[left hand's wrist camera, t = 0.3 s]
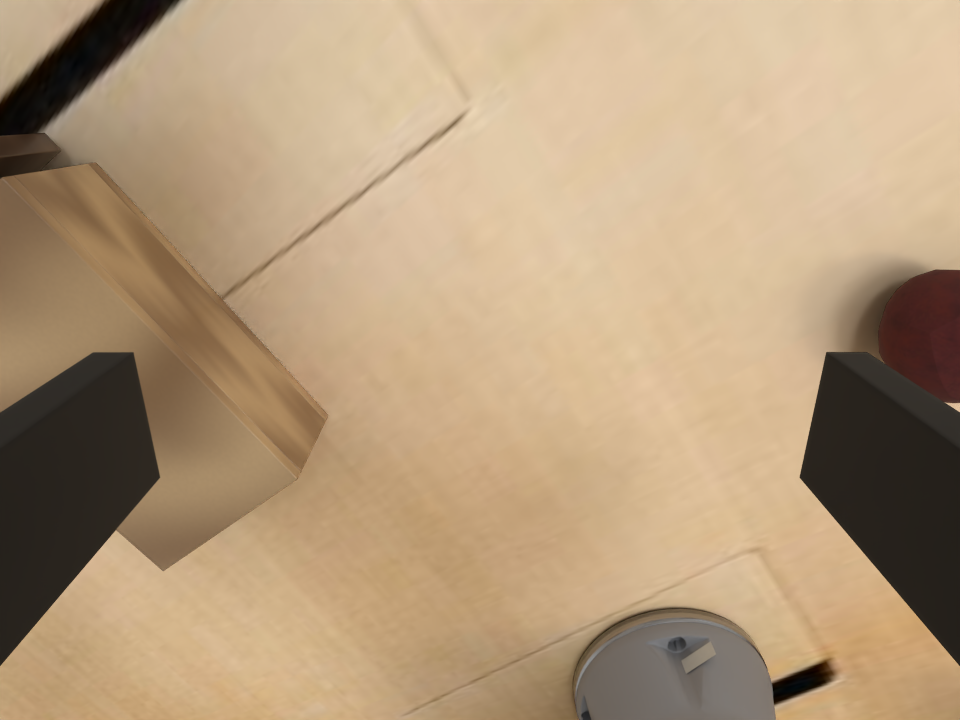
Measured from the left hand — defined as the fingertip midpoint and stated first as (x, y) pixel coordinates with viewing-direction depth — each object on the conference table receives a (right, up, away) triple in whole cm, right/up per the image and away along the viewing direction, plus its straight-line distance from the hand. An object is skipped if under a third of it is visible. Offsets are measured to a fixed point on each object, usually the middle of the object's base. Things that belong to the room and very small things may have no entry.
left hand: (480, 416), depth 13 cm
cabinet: (-20, +2, +29) cm, 36 cm away
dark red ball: (+27, +4, +28) cm, 39 cm away
